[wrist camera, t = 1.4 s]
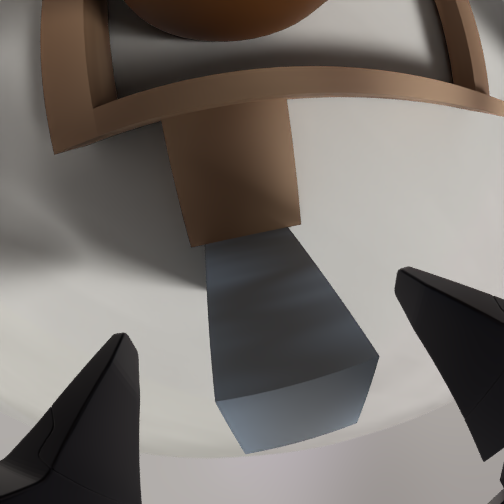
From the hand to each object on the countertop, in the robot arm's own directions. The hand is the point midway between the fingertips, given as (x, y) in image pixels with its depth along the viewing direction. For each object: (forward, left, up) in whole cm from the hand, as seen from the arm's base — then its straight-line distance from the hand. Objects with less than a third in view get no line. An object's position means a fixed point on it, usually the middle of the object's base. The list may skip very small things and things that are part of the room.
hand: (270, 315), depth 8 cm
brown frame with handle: (-4, -10, -3) cm, 12 cm away
